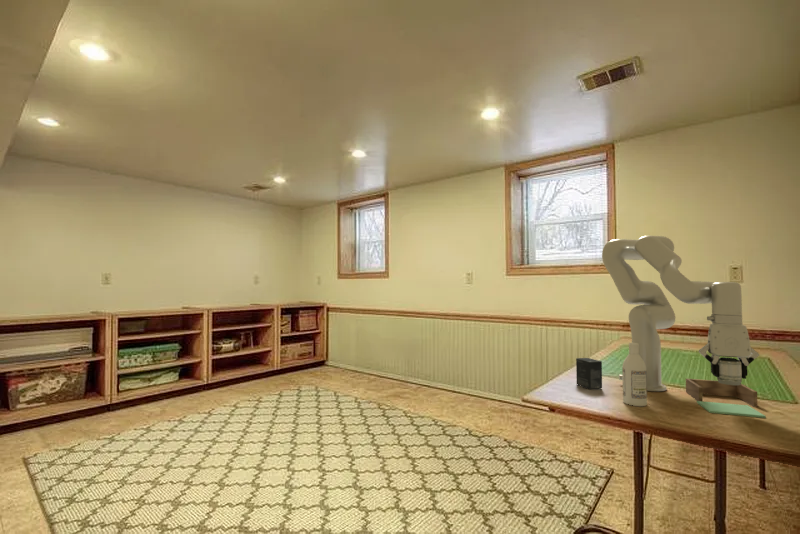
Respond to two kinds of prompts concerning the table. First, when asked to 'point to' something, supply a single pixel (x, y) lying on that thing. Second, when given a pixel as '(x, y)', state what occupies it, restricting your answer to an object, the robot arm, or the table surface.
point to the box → (589, 373)
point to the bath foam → (634, 378)
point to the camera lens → (729, 371)
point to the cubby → (720, 390)
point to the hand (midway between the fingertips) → (729, 376)
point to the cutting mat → (730, 409)
